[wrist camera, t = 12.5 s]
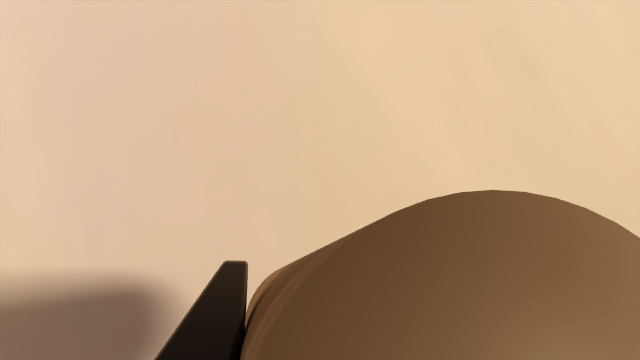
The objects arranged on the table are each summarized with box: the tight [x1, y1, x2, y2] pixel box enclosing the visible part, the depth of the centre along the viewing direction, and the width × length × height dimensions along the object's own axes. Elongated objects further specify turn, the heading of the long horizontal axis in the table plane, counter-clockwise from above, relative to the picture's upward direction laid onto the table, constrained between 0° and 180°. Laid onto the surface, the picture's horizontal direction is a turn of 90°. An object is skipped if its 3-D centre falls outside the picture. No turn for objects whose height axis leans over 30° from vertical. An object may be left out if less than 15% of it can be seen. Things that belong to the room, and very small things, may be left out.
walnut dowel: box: [240, 190, 640, 360], centre depth 9 cm, size 4×4×12 cm
